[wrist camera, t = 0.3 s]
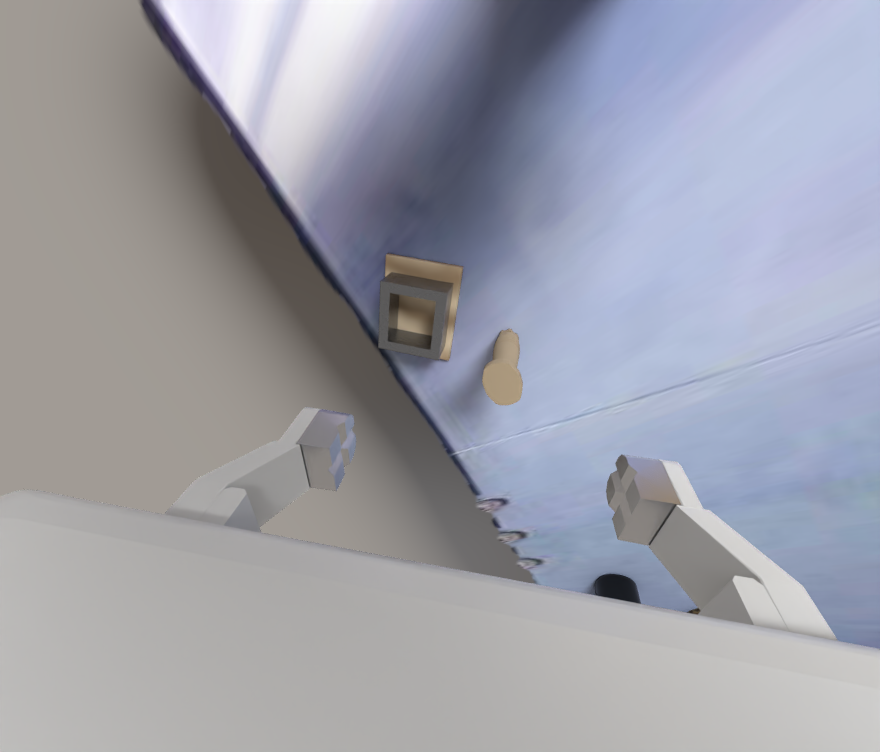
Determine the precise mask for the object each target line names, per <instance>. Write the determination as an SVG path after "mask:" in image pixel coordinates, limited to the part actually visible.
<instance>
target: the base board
mask: <svg viewBox="0 0 880 752" xmlns="http://www.w3.org/2000/svg"><path fill="white" fill-rule="evenodd" d="M391 272H394V273H400V274H405V275H411V276H416V277H422V278H427V279H433V280H438V281H444V282H449V283H454V284H453V291H452V299H451V306H450V313H449V320H448V328H447V335H446V342H445V347H444V350H443V352H442V354H441V356H440V358H439V359H444V360H448V361H449V359H450V353H451V347H452V340H453V333H454V327H455V320H456V313H457V306H458V300H459V293H460V286H461V280H462V273H463V266H457V265H452V264H446V263H440V262H435V261H429V260H423V259H417V258H412V257H406V256H400V255H395V254H389V253H388V254H386V267H385V277H386V276H387V275H388V274H390V273H391ZM435 306H436V301H431V300H426V299H420V298H415V297H410V296H405V295H399V309H398V326H397V329H400V330H405V331H410V332H415V333H420V334H425V335H430V336H432V332H433V323H434V314H435Z"/></svg>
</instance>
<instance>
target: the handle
mask: <svg viewBox="0 0 880 752" xmlns="http://www.w3.org/2000/svg"><path fill="white" fill-rule="evenodd" d="M518 340H519V338H518V335H517V334H516V333H514V332H513V331H512V329H508V330H505V331H503V330H502V331H501V332H500V335H499V337H498V338H497V340H496V342H495V345H494V350H493V360H492V361H490V362H489V363H487V364H486V365H485V367H484V372H483V378H482V382H483V386H484V389H485V392H486V394H487V395H488V396H489V398H490V399H491V400H493V401H494V402H495V403H496V404H498V405H510V404H513V403H516V402H517V401H519V400H520V398H521V393H522V386H523V382H522V378H521V374H520V372H519V370H518V369H517V364H518V359H519V352H520V348H519V341H518Z"/></svg>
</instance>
